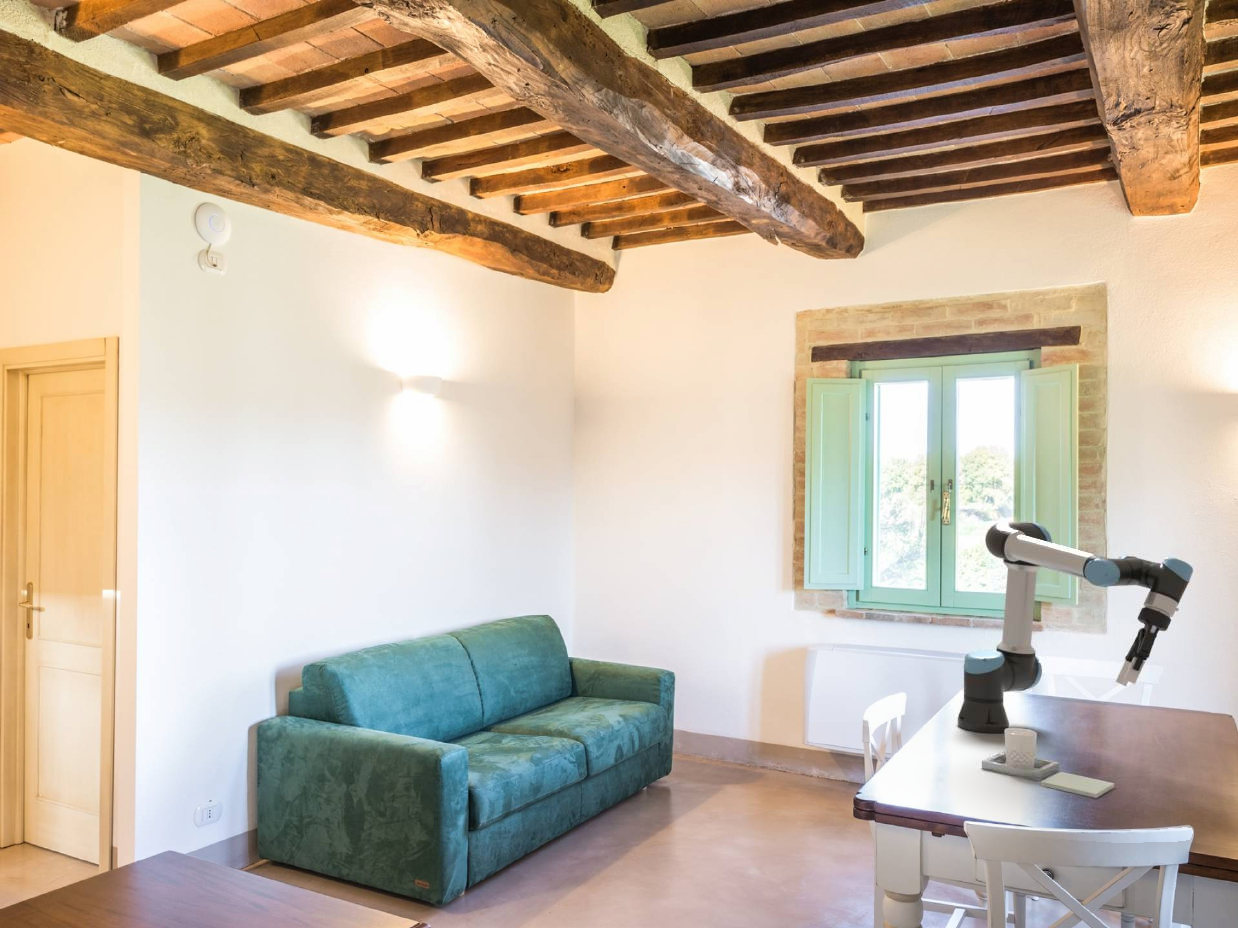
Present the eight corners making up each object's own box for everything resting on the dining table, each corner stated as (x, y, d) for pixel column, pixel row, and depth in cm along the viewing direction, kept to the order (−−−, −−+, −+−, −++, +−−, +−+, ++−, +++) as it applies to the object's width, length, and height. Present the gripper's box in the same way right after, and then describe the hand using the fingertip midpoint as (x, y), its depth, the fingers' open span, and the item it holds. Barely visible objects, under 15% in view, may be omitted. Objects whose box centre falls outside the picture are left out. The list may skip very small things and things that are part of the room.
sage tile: (1041, 785, 239) (1041, 781, 239) (1060, 775, 248) (1060, 771, 248) (1096, 797, 229) (1096, 793, 229) (1114, 787, 239) (1114, 783, 239)
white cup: (1035, 767, 255) (1035, 729, 255) (1037, 775, 248) (1038, 736, 248) (1003, 763, 258) (1003, 726, 258) (1004, 771, 250) (1005, 733, 251)
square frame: (981, 768, 253) (981, 760, 253) (1004, 758, 263) (1004, 751, 263) (1037, 780, 242) (1037, 772, 243) (1058, 770, 253) (1058, 762, 253)
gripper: (1182, 613, 247) (1148, 687, 245) (1162, 623, 269) (1131, 691, 268) (1151, 600, 250) (1118, 673, 248) (1134, 611, 272) (1103, 678, 270)
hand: (1124, 682), depth 258 cm, fingers open, 13 cm apart
